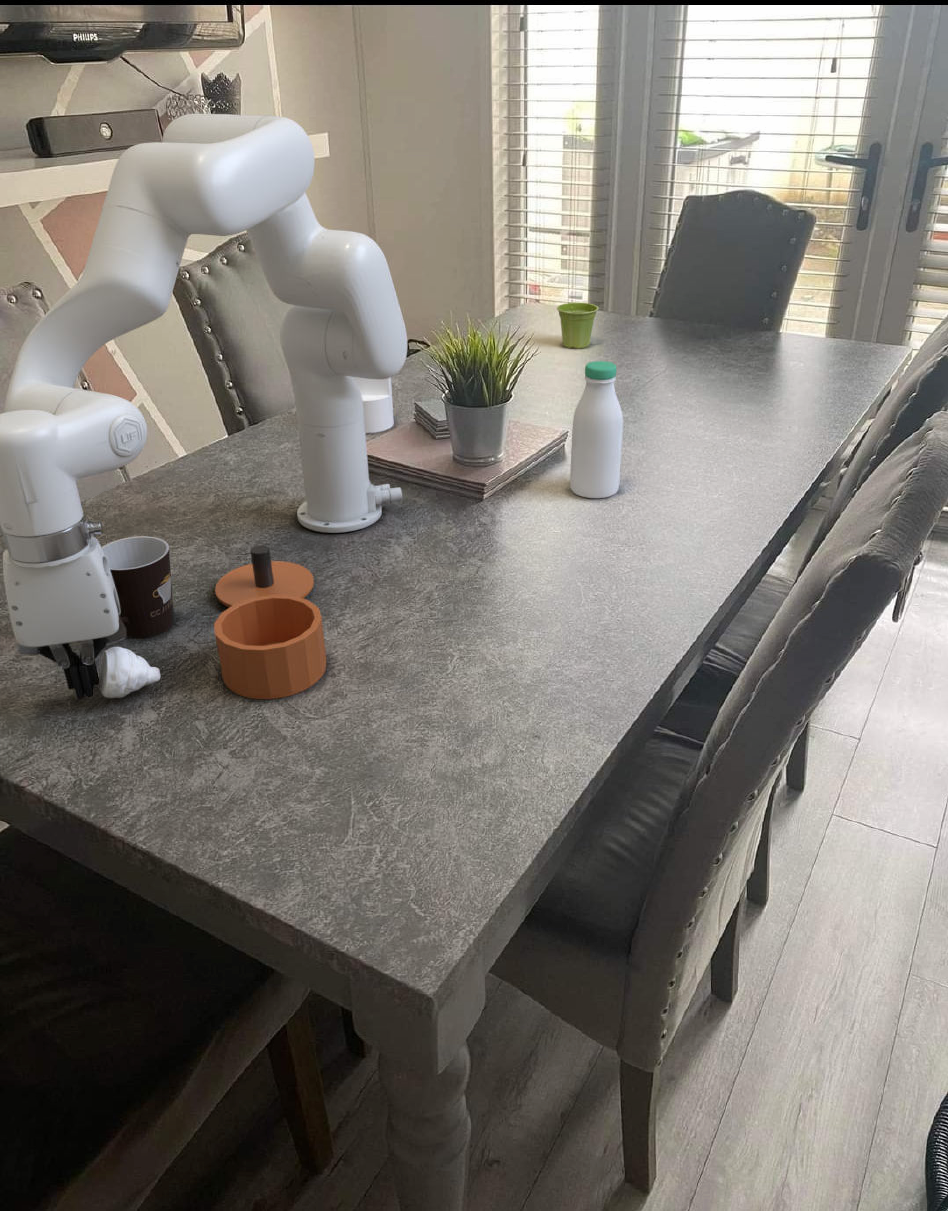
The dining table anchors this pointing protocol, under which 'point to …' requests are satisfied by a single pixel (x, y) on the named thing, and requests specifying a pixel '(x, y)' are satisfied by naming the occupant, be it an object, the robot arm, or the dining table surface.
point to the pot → (271, 646)
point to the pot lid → (263, 579)
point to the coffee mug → (142, 584)
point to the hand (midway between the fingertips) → (86, 691)
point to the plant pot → (577, 323)
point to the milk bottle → (597, 435)
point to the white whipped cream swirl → (124, 672)
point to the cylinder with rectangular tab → (376, 403)
